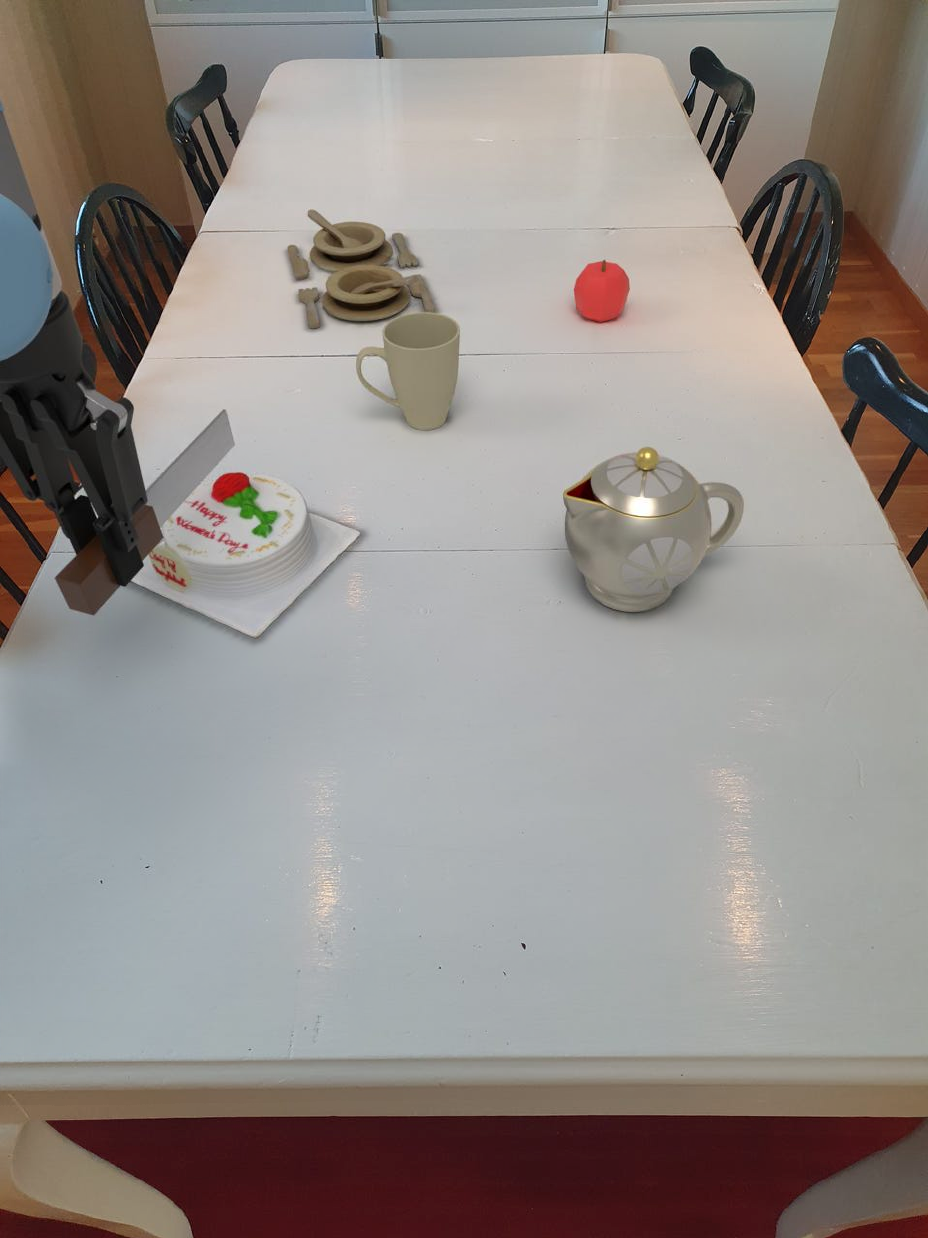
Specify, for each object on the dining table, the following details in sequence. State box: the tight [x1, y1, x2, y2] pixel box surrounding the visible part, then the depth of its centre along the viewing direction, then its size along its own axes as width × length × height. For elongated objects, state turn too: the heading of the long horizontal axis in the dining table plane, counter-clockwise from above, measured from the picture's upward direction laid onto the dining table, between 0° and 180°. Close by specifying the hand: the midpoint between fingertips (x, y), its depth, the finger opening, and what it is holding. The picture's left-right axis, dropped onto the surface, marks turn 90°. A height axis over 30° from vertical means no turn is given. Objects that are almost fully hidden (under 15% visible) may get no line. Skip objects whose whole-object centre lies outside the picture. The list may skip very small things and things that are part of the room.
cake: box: [130, 471, 361, 639], centre depth 93 cm, size 18×18×8 cm
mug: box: [355, 311, 461, 431], centre depth 109 cm, size 11×10×12 cm
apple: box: [573, 259, 631, 323], centre depth 129 cm, size 8×8×8 cm
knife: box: [54, 408, 236, 616], centre depth 79 cm, size 24×2×4 cm, turn 160°
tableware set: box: [287, 209, 436, 330], centre depth 139 cm, size 30×20×6 cm, turn 14°
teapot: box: [562, 446, 745, 613], centre depth 85 cm, size 18×14×16 cm
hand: (115, 570), depth 75 cm, fingers closed on knife, 2 cm apart
